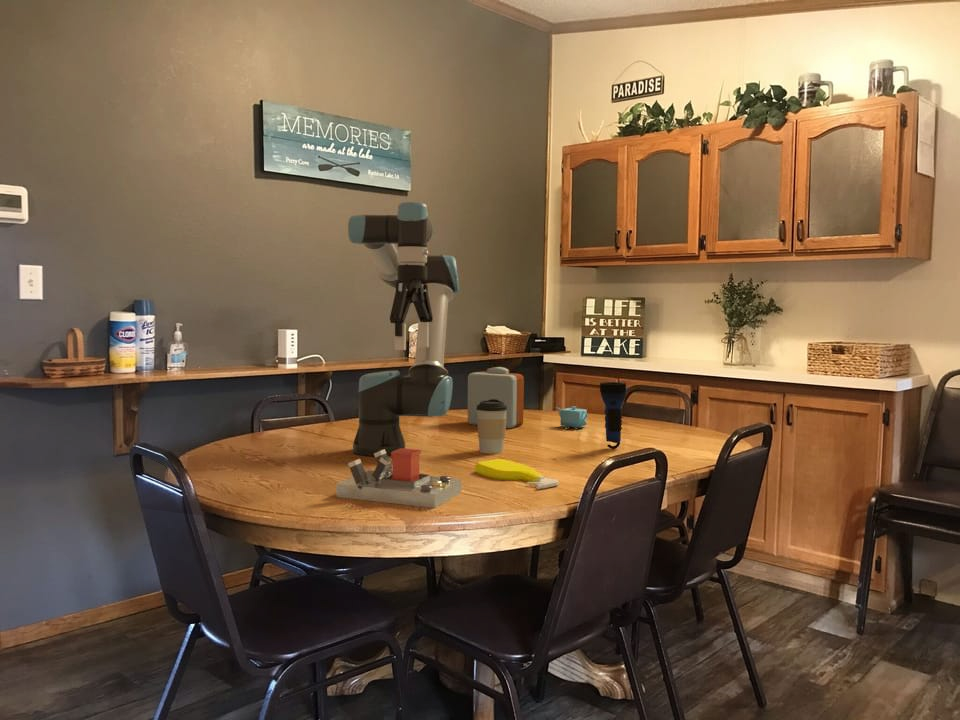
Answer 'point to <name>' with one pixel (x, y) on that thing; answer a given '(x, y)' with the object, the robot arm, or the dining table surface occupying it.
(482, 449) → the coffee cup
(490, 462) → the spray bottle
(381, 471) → the breaker
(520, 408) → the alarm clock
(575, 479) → the dining table surface
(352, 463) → the breaker
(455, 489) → the panel
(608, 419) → the flashlight
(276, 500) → the dining table surface
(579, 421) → the teapot
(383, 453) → the breaker
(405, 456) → the lockout cap
